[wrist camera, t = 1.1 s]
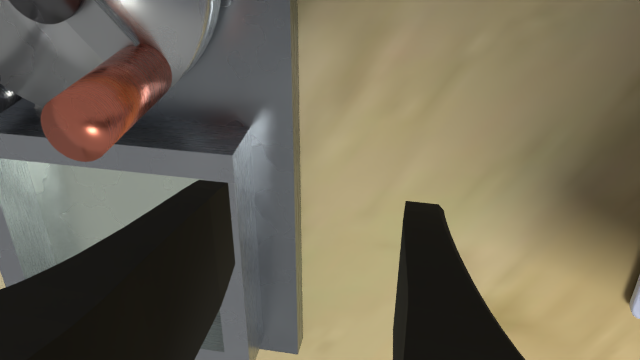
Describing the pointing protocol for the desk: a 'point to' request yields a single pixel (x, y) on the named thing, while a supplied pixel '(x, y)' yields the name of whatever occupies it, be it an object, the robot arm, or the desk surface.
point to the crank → (98, 62)
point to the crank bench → (182, 176)
